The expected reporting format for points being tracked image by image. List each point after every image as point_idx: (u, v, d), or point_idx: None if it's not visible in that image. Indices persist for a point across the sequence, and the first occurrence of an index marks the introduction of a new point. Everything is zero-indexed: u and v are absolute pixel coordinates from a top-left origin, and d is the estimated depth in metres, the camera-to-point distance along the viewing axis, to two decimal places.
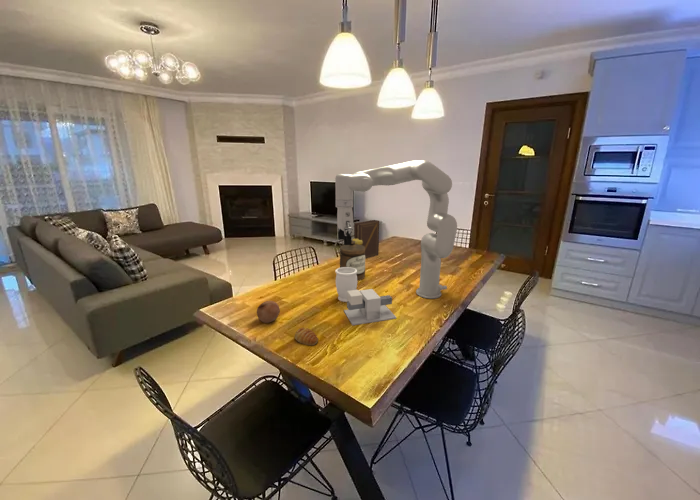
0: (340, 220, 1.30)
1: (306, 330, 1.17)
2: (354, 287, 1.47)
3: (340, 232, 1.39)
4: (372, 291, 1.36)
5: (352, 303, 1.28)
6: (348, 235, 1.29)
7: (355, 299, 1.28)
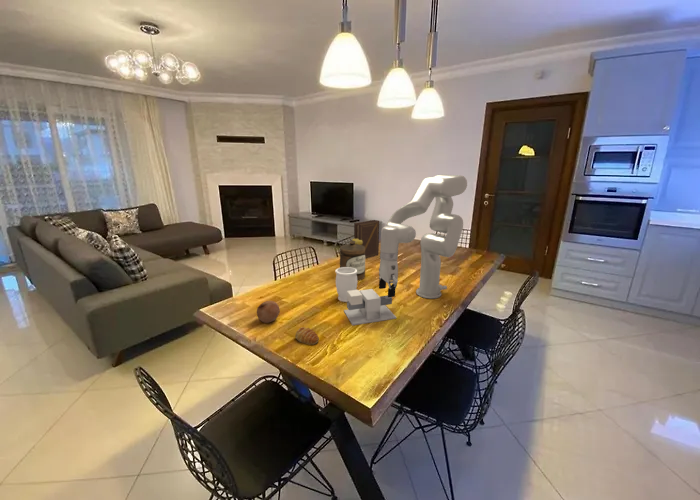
0: (384, 272, 1.30)
1: (307, 329, 1.18)
2: (354, 287, 1.47)
3: (381, 281, 1.38)
4: (372, 291, 1.36)
5: (352, 303, 1.28)
6: (393, 288, 1.28)
7: (355, 299, 1.28)
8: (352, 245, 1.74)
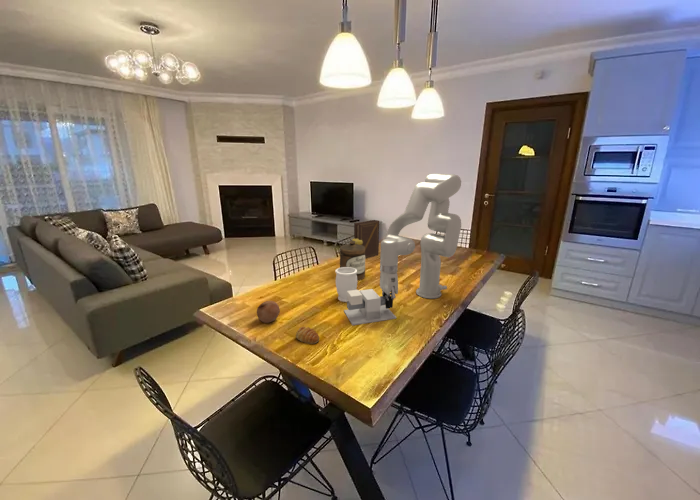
0: (385, 284, 1.32)
1: (307, 329, 1.18)
2: (354, 287, 1.47)
3: None
4: (372, 291, 1.36)
5: (352, 303, 1.28)
6: (390, 300, 1.33)
7: (355, 299, 1.28)
8: (352, 245, 1.74)
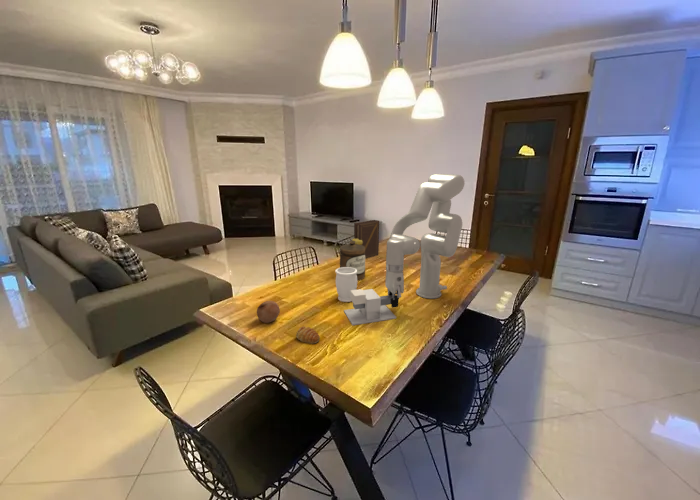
0: (390, 283, 1.32)
1: (307, 329, 1.18)
2: (354, 287, 1.47)
3: None
4: (372, 291, 1.36)
5: (355, 302, 1.29)
6: (396, 299, 1.34)
7: (359, 299, 1.29)
8: (352, 245, 1.74)
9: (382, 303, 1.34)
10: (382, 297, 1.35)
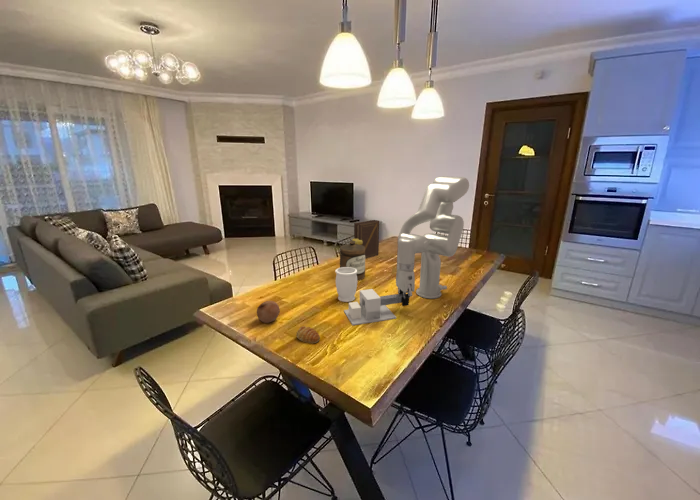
0: (401, 282, 1.34)
1: (307, 328, 1.18)
2: (354, 287, 1.47)
3: None
4: (372, 291, 1.36)
5: (359, 317, 1.31)
6: (407, 297, 1.35)
7: (356, 314, 1.30)
8: (352, 245, 1.74)
9: (393, 301, 1.36)
10: (393, 296, 1.37)
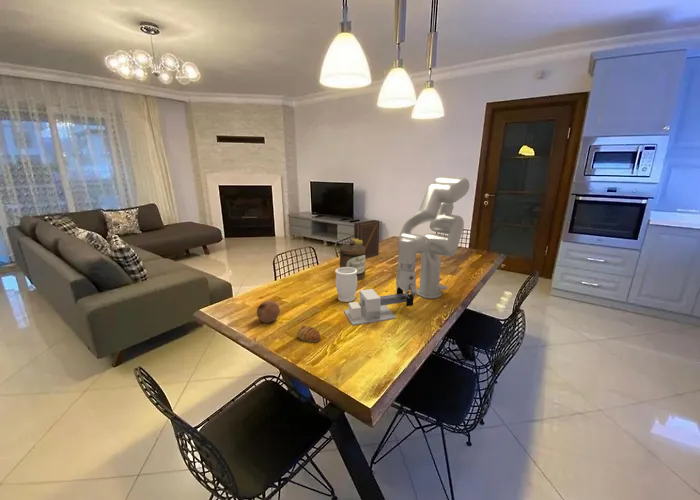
0: (402, 282, 1.34)
1: (308, 328, 1.19)
2: (354, 287, 1.47)
3: (399, 290, 1.42)
4: (372, 291, 1.36)
5: (359, 317, 1.31)
6: (411, 297, 1.32)
7: (356, 314, 1.30)
8: (352, 245, 1.74)
9: (394, 301, 1.36)
10: (394, 295, 1.37)
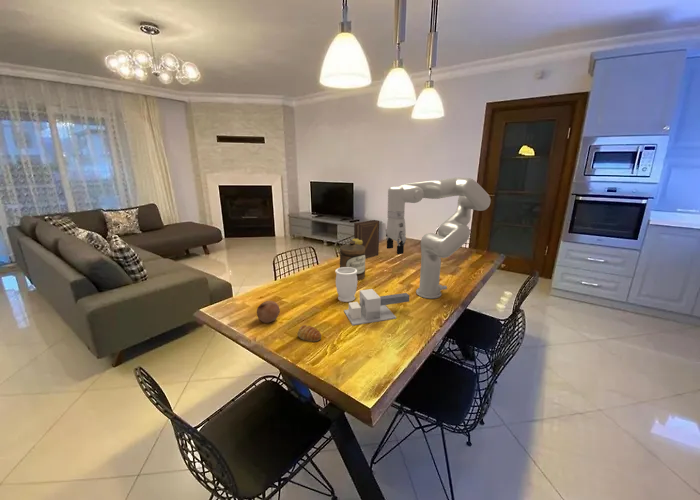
0: (393, 230, 1.37)
1: (308, 327, 1.19)
2: (354, 287, 1.47)
3: (389, 241, 1.45)
4: (372, 291, 1.36)
5: (359, 317, 1.31)
6: (401, 245, 1.35)
7: (356, 314, 1.30)
8: (352, 245, 1.74)
9: (394, 301, 1.36)
10: (394, 295, 1.37)
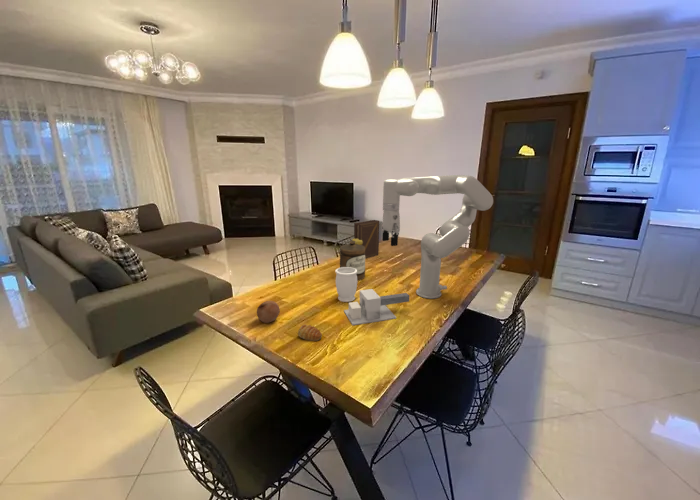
0: (387, 223, 1.40)
1: (309, 326, 1.20)
2: (354, 287, 1.47)
3: (384, 234, 1.48)
4: (372, 291, 1.36)
5: (359, 317, 1.31)
6: (395, 237, 1.38)
7: (356, 314, 1.30)
8: (352, 245, 1.74)
9: (394, 301, 1.36)
10: (394, 295, 1.37)
